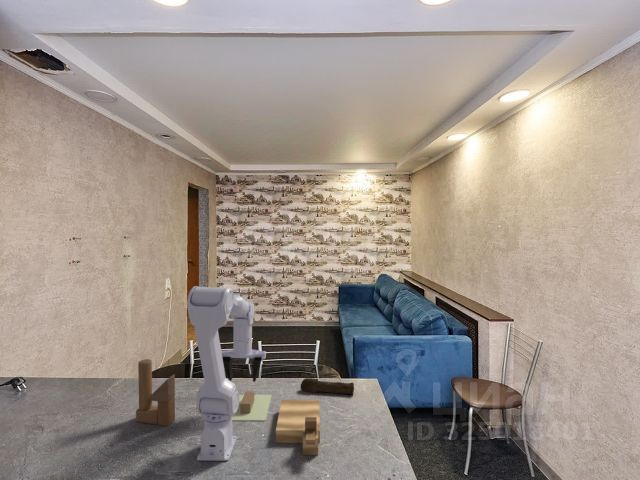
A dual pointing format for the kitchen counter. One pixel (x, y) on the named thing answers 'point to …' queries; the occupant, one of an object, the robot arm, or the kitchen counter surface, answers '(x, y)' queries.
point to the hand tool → (326, 386)
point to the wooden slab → (297, 423)
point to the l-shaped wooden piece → (310, 430)
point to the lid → (252, 407)
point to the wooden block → (155, 397)
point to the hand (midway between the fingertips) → (242, 380)
